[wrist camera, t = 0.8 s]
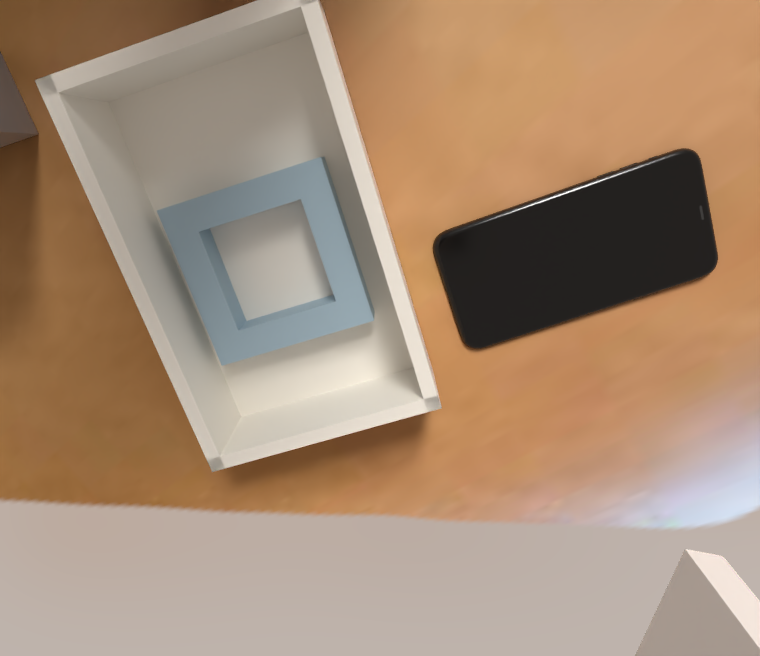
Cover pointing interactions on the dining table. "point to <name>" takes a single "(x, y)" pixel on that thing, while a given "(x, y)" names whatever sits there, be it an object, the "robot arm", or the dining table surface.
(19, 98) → the grey plug
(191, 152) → the tray box
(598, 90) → the dining table surface
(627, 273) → the smartphone
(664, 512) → the dining table surface
